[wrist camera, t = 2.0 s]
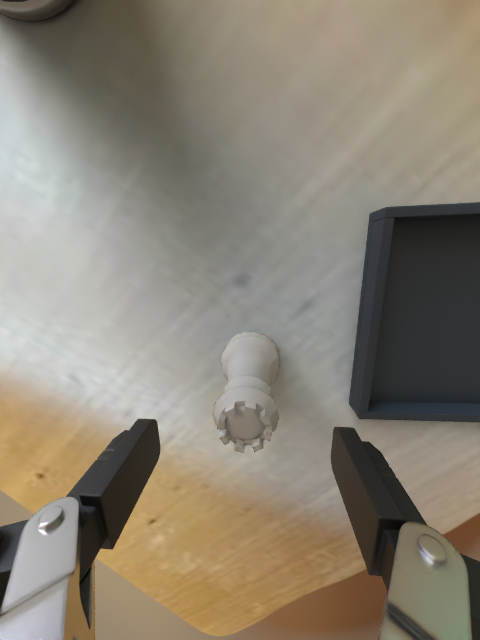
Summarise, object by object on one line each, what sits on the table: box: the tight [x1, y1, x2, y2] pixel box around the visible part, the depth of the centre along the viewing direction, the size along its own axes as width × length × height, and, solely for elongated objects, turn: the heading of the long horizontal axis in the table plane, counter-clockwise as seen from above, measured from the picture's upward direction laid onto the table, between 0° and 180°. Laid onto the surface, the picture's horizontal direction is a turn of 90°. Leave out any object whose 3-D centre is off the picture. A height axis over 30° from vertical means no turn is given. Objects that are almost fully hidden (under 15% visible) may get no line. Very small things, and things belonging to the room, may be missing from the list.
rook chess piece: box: [213, 332, 280, 453], centre depth 14 cm, size 4×4×8 cm
